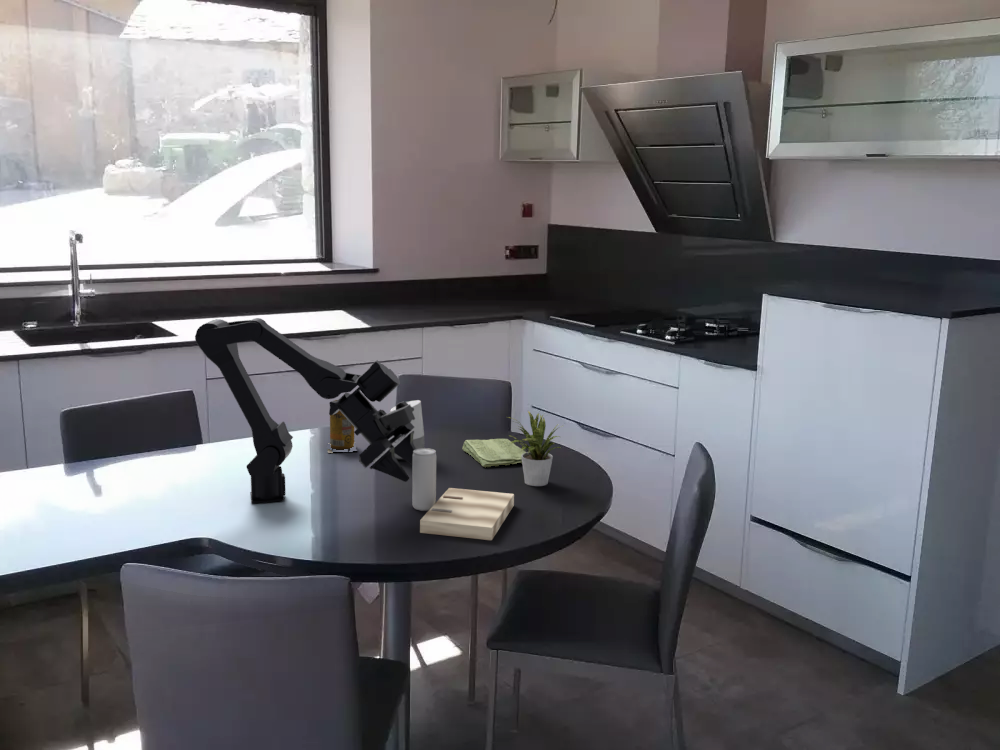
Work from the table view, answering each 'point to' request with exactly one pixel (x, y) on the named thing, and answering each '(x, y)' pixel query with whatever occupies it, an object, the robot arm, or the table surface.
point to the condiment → (340, 432)
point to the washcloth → (493, 452)
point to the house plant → (536, 453)
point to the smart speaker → (415, 426)
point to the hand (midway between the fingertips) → (414, 473)
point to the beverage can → (424, 479)
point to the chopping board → (467, 514)
